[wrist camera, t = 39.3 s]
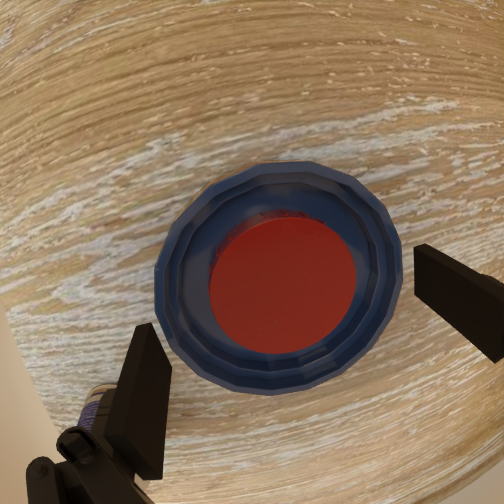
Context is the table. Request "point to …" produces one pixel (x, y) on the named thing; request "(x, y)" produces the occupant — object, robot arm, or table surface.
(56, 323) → the table surface
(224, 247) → the lid
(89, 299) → the table surface
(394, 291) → the dish
